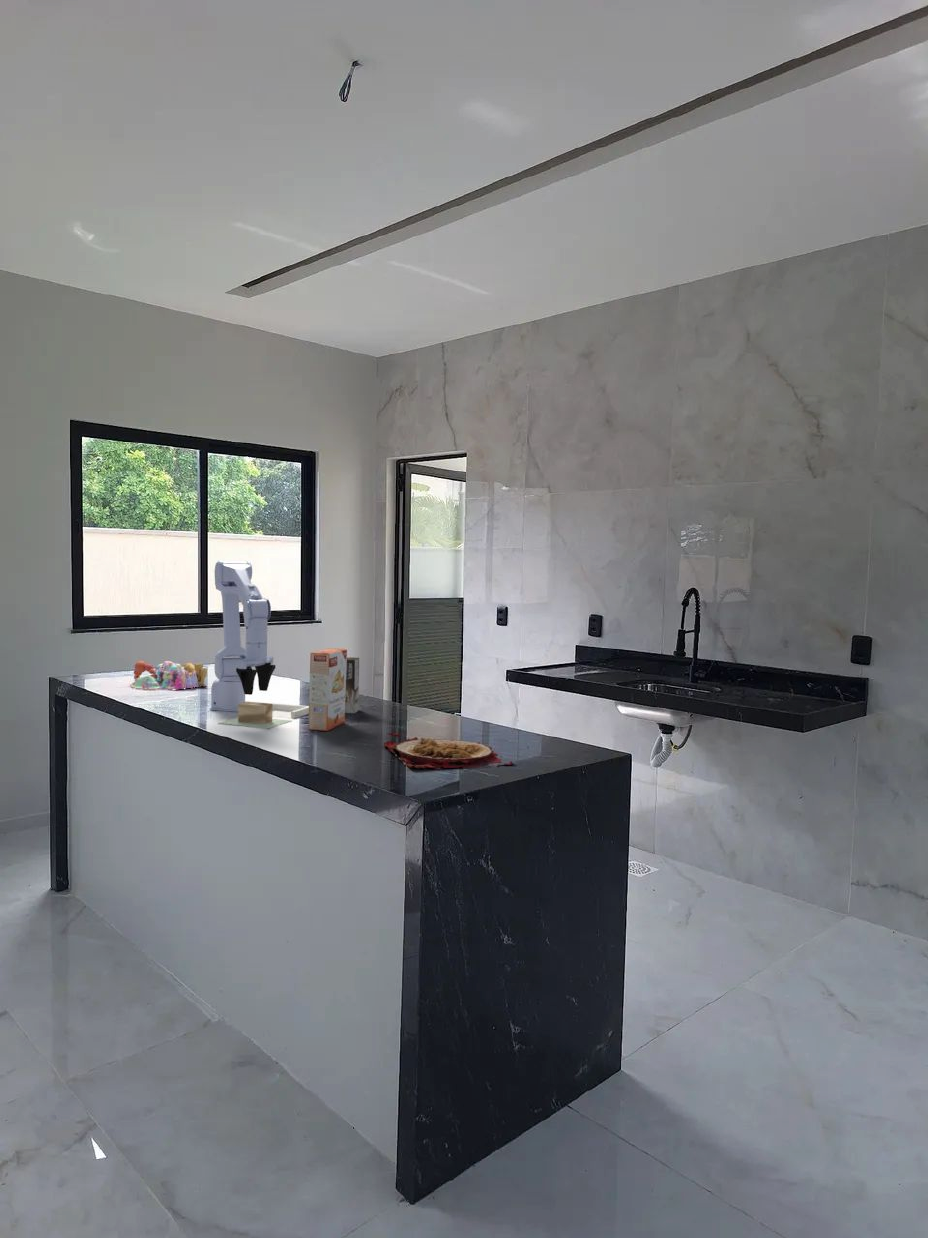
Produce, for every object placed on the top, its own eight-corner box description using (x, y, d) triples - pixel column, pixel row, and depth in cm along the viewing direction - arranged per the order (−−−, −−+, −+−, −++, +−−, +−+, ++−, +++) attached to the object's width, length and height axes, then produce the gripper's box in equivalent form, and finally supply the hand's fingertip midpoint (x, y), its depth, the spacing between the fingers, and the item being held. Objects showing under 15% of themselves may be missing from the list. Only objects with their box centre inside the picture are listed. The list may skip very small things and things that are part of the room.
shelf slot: (253, 715, 252) (253, 708, 252) (272, 709, 262) (272, 703, 262) (293, 719, 248) (293, 712, 248) (312, 713, 258) (312, 706, 258)
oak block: (263, 724, 238) (263, 706, 237) (238, 721, 240) (238, 703, 240) (272, 721, 242) (272, 703, 242) (247, 719, 245) (247, 701, 244)
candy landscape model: (190, 680, 321) (191, 655, 320) (218, 688, 303) (218, 662, 302) (121, 685, 305) (121, 658, 304) (146, 694, 287) (146, 666, 286)
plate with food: (411, 775, 191) (412, 759, 191) (381, 746, 216) (382, 732, 215) (515, 770, 199) (516, 755, 199) (475, 743, 224) (476, 729, 224)
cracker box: (328, 732, 231) (330, 653, 230) (307, 730, 232) (308, 652, 231) (346, 722, 245) (347, 648, 244) (326, 721, 246) (327, 647, 245)
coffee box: (359, 710, 265) (360, 657, 264) (354, 714, 259) (355, 659, 258) (329, 709, 266) (330, 656, 265) (324, 712, 260) (325, 658, 259)
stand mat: (217, 724, 238) (217, 722, 238) (242, 716, 249) (242, 715, 249) (269, 729, 233) (269, 728, 233) (292, 721, 244) (292, 720, 244)
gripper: (254, 646, 232) (254, 697, 233) (282, 641, 245) (282, 690, 246) (231, 644, 234) (231, 695, 235) (260, 640, 248) (260, 688, 249)
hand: (255, 692), depth 241 cm, fingers open, 7 cm apart
